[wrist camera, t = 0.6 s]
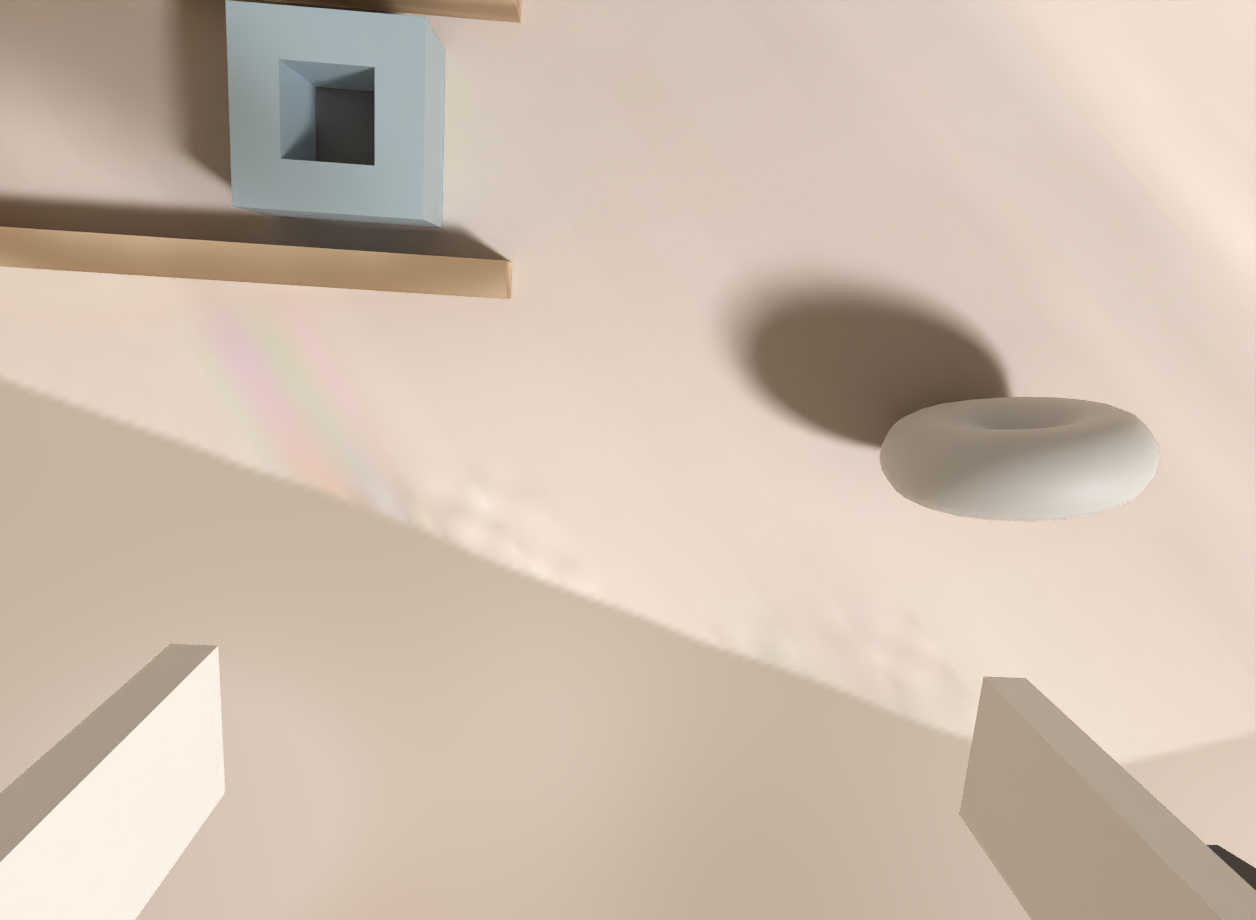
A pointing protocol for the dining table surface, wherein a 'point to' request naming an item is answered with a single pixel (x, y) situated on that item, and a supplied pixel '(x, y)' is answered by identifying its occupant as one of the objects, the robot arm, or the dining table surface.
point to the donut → (1020, 458)
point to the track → (277, 260)
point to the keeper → (286, 113)
